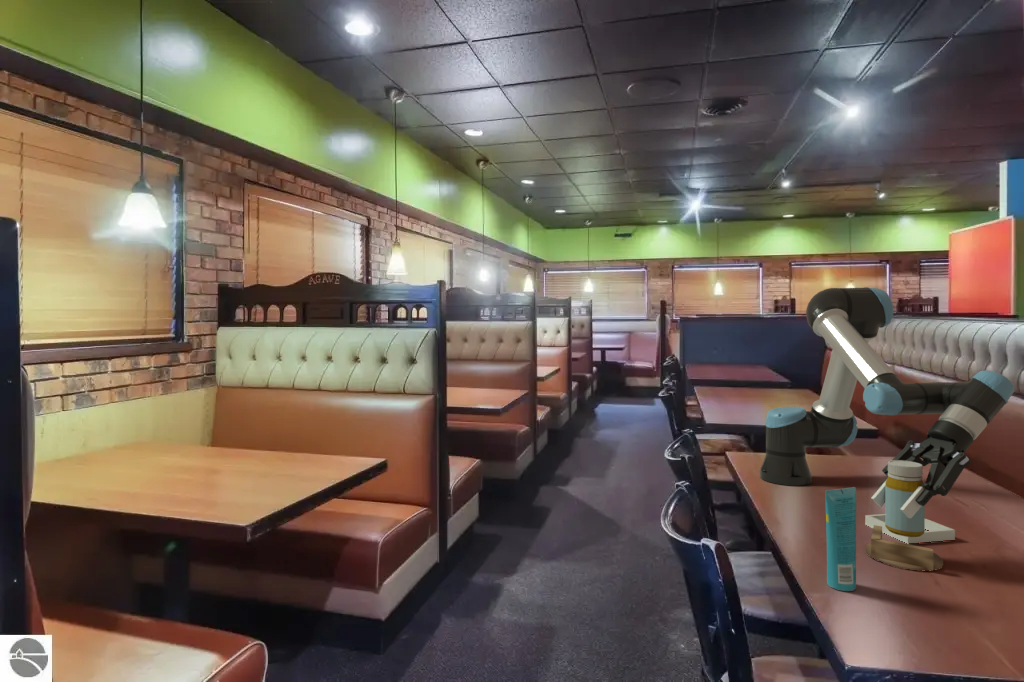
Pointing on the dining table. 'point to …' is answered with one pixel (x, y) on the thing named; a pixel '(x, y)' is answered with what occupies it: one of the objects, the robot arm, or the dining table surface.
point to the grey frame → (934, 534)
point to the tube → (841, 538)
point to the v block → (902, 553)
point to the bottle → (903, 498)
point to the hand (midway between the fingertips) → (890, 507)
